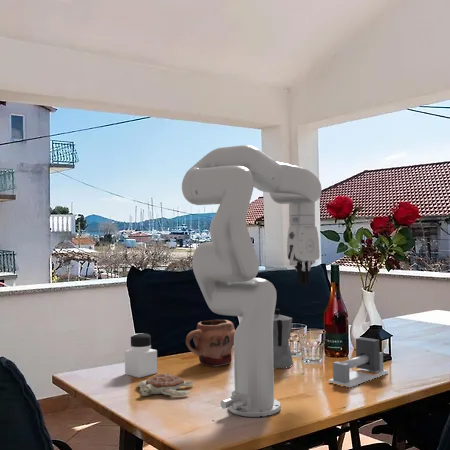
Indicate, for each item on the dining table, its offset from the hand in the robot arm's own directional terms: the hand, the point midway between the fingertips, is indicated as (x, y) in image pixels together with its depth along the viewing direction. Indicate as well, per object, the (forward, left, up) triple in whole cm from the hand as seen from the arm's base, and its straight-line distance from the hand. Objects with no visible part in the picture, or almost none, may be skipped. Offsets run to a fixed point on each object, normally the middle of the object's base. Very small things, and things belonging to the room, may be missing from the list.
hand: (303, 284), depth 157 cm
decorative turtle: (-36, +20, -28) cm, 50 cm away
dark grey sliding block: (+15, -12, -25) cm, 32 cm away
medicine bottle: (-30, +39, -27) cm, 56 cm away
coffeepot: (+5, +14, -27) cm, 31 cm away
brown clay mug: (-8, +31, -27) cm, 42 cm away
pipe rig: (+10, -12, -27) cm, 31 cm away
